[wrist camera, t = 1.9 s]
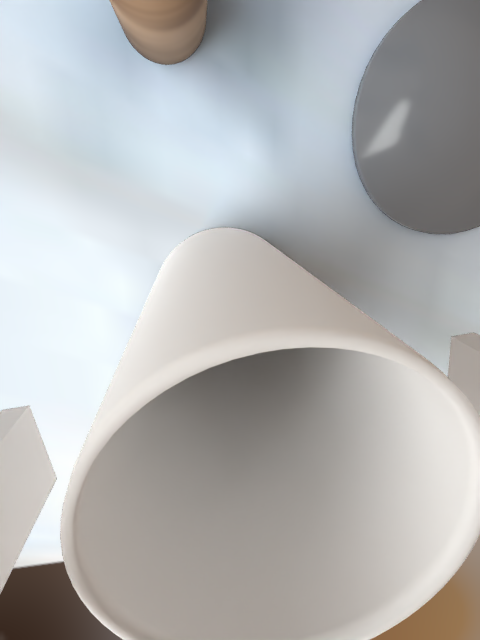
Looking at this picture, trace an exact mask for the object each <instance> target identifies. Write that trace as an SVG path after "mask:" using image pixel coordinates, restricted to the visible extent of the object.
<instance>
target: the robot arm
mask: <svg viewBox="0 0 480 640" xmlns="http://www.w3.org/2000/svg"><path fill="white" fill-rule="evenodd" d="M448 378H449V379H450V380H451V381H452V382H453V383H454V384H455V385H456V386H457V387H458V388H459V390H460V391H461V392H462V393H463V394H464V395H465V396H466V397H467V398H468V400H469V401H470V403H471V404H472V405H473V407H474V408H475V410H476V411H477V413H478V415H479V417H480V335H478V334H476V333H469V334H462V335H456V336H451V346H450V357H449V369H448ZM56 479H57V478H56V475H55V472H54V470H53V467H52V464H51V462H50V459H49V456H48V454H47V451H46V448H45V446H44V443H43V440H42V438H41V435H40V433H39V430H38V427H37V425H36V422H35V419H34V417H33V414H32V411H31V409H30V406H23V407H17V408H11V409H5V410H2V411H1V412H0V593H1V591H2V589H3V587H4V585H5V583H6V581H7V579H8V577H9V575H10V573H11V571H12V569H13V567H14V565H15V563H16V561H17V559H18V557H19V555H20V553H21V551H22V548H23V546H24V544H25V542H26V540H27V538H28V536H29V534H30V532H31V530H32V528H33V526H34V524H35V522H36V520H37V518H38V516H39V514H40V512H41V510H42V508H43V506H44V504H45V502H46V500H47V498H48V496H49V494H50V492H51V490H52V488H53V486H54V484H55V482H56Z"/></svg>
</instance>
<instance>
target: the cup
mask: <svg viewBox="0 0 480 640" xmlns="http://www.w3.org/2000/svg"><path fill="white" fill-rule="evenodd" d="M479 535H480V417H479V415H478V413H477V411H476V410H475V408H474V407H473V405H472V404H471V403H470V401H469V400H468V398H467V397H466V396H465V395H464V394H463V393H462V392H461V391H460V390H459V388H458V387H457V386H456V385H455V384H454V383H453V382H452V381H451V380H450V379H449V378H448V377H447V376H446V375H445V374H444V373H443V372H442V371H441V370H439V369H438V368H437V367H436V366H435V365H433V364H432V363H431V362H430V361H428V360H427V359H426V358H425V357H423V356H422V355H420V354H419V353H418V352H416V351H415V350H414V349H412V348H411V347H410V346H408V345H407V344H406V343H404V342H403V341H402V340H400V339H399V338H398V337H396V336H395V335H393V334H392V333H391V332H389V331H388V330H387V329H385V328H384V327H383V326H381V325H380V324H379V323H377V322H376V321H375V320H373V319H372V318H370V317H369V316H368V315H366V314H365V313H364V312H362V311H361V310H360V309H358V308H357V307H356V306H354V305H353V304H351V303H350V302H349V301H347V300H346V299H345V298H343V297H342V296H341V295H339V294H338V293H336V292H335V291H334V290H332V289H331V288H330V287H328V286H327V285H326V284H324V283H323V282H321V281H320V280H319V279H317V278H316V277H315V276H313V275H312V274H311V273H309V272H308V271H306V270H305V269H304V268H302V267H301V266H300V265H298V264H297V263H296V262H294V261H293V260H291V259H290V258H289V257H287V256H286V255H285V254H283V253H282V252H281V251H279V250H278V249H276V248H275V247H274V246H272V245H271V244H270V243H268V242H267V241H266V240H264V239H262V238H261V237H259V236H257V235H255V234H253V233H251V232H248V231H245V230H242V229H237V228H228V227H222V228H212V229H208V230H204V231H201V232H198V233H196V234H194V235H192V236H190V237H188V238H187V239H185V240H184V241H182V242H181V243H180V244H179V245H178V246H176V247H175V248H174V249H173V250H172V252H171V253H170V254H169V255H168V257H167V258H166V260H165V261H164V263H163V265H162V267H161V269H160V271H159V274H158V276H157V278H156V280H155V283H154V285H153V287H152V290H151V292H150V294H149V296H148V299H147V301H146V303H145V305H144V308H143V310H142V312H141V314H140V317H139V319H138V321H137V324H136V326H135V328H134V330H133V333H132V335H131V337H130V339H129V342H128V344H127V346H126V348H125V351H124V353H123V355H122V358H121V360H120V362H119V364H118V367H117V369H116V371H115V373H114V376H113V378H112V380H111V382H110V385H109V387H108V389H107V392H106V394H105V396H104V398H103V401H102V403H101V405H100V408H99V410H98V412H97V414H96V417H95V419H94V421H93V424H92V426H91V428H90V431H89V433H88V435H87V437H86V440H85V442H84V444H83V447H82V449H81V451H80V454H79V456H78V458H77V460H76V463H75V465H74V468H73V471H72V474H71V478H70V481H69V484H68V488H67V492H66V495H65V499H64V503H63V509H62V516H61V531H60V539H61V548H62V555H63V559H64V563H65V567H66V570H67V573H68V575H69V578H70V580H71V582H72V585H73V587H74V588H75V590H76V591H77V593H78V595H79V597H80V599H81V600H82V601H83V603H84V604H85V605H86V607H87V608H88V609H89V610H90V612H91V613H92V614H93V615H94V616H95V617H96V618H97V619H98V620H99V621H100V622H101V623H102V624H103V625H104V626H106V627H107V628H108V629H110V630H111V631H112V632H113V633H114V634H116V635H117V636H119V637H121V638H122V639H124V640H370V639H371V638H374V637H376V636H378V635H379V634H381V633H383V632H385V631H387V630H388V629H390V628H392V627H393V626H395V625H396V624H398V623H400V622H401V621H403V620H404V619H406V618H407V617H408V616H410V615H411V614H413V613H414V612H415V611H417V610H418V609H419V608H420V607H422V606H423V605H424V604H425V603H426V602H428V601H429V600H430V599H431V598H432V597H433V596H434V595H435V594H436V593H437V592H438V591H439V590H440V589H442V588H443V586H445V584H446V583H447V582H448V581H449V579H451V577H453V575H454V574H455V573H456V572H457V570H458V569H459V568H460V566H461V565H462V564H463V563H464V561H465V560H466V558H467V556H468V555H469V553H470V552H471V550H472V549H473V547H474V545H475V543H476V541H477V539H478V537H479Z"/></svg>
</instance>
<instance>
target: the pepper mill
mask: <svg viewBox="0 0 480 640" xmlns="http://www.w3.org/2000/svg"><path fill="white" fill-rule="evenodd" d="M110 2H111V5H112V7H113V9H114V11H115V13H116V15H117V18H118V20H119V22H120V24H121V26H122V29H123V31H124V33H125V35H126V37H127V39H128V40H129V42H130V43H131V45H132V46H133V47H134V48H135V49H136V50H137V51H138V52H139V53H140V54H141V55H142V56H143V57H145V58H147V59H148V60H150V61H153V62H155V63H159V64H165V65H169V64H176V63H179V62H182V61H184V60H186V59H187V58H188V57H190V56H191V55H192V54H193V53H194V52H195V51H196V49H197V48H198V46H199V45H200V43H201V41H202V38H203V36H204V32H205V27H206V16H207V0H110Z"/></svg>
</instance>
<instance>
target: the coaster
mask: <svg viewBox="0 0 480 640" xmlns="http://www.w3.org/2000/svg"><path fill="white" fill-rule="evenodd" d="M352 145H353V153H354V159H355V164H356V168H357V171H358V174H359V177H360V180H361V182H362V184H363V186H364V188H365V190H366V192H367V193H368V195H369V196H370V198H371V199H372V201H373V202H374V203H375V205H376V206H377V207H378V208H379V209H380V210H381V211H382V212H383V213H384V214H385V215H387V216H388V217H389V218H390V219H392V220H393V221H395V222H397V223H398V224H400V225H402V226H405V227H407V228H410V229H412V230H417V231H421V232H426V233H434V234H450V233H458V232H462V231H467V230H470V229H473V228H476V227H479V226H480V0H422V1H420V2H419V3H417V4H416V5H415V6H414V7H413V8H411V9H410V10H409V11H408V12H407V13H406V14H405V15H404V16H403V17H402V18H400V19H399V20H398V21H397V22H396V23H395V25H394V26H393V27H392V28H391V29H390V30H389V32H388V33H387V34H386V35H385V37H384V38H383V39H382V41H381V42H380V44H379V45H378V47H377V48H376V50H375V52H374V54H373V55H372V57H371V59H370V61H369V63H368V65H367V67H366V70H365V72H364V75H363V77H362V80H361V82H360V85H359V89H358V93H357V96H356V100H355V106H354V112H353V120H352Z"/></svg>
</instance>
